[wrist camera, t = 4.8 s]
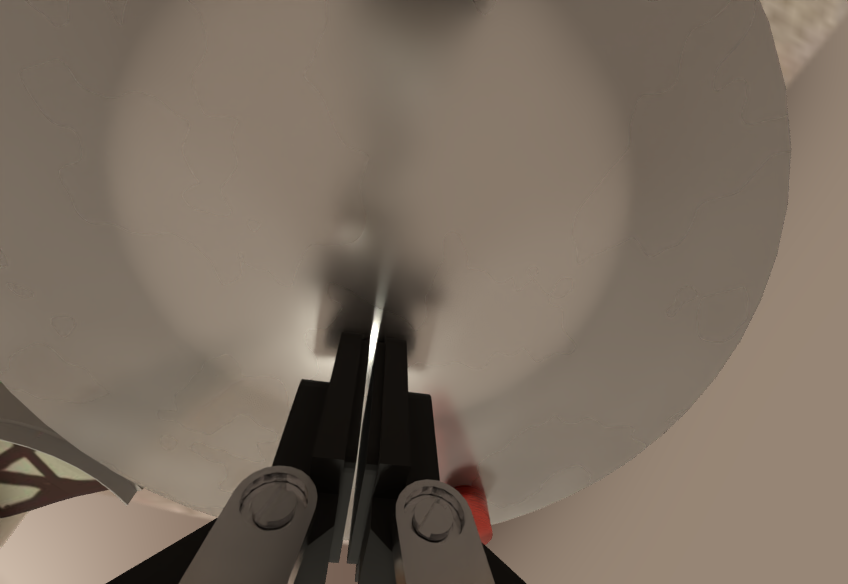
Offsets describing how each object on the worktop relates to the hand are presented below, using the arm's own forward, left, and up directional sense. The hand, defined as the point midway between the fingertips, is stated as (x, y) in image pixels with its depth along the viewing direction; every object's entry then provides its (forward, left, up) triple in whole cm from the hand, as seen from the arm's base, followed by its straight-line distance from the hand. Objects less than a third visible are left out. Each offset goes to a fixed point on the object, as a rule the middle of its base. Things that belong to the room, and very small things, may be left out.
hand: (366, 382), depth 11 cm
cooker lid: (-3, 0, -1) cm, 4 cm away
